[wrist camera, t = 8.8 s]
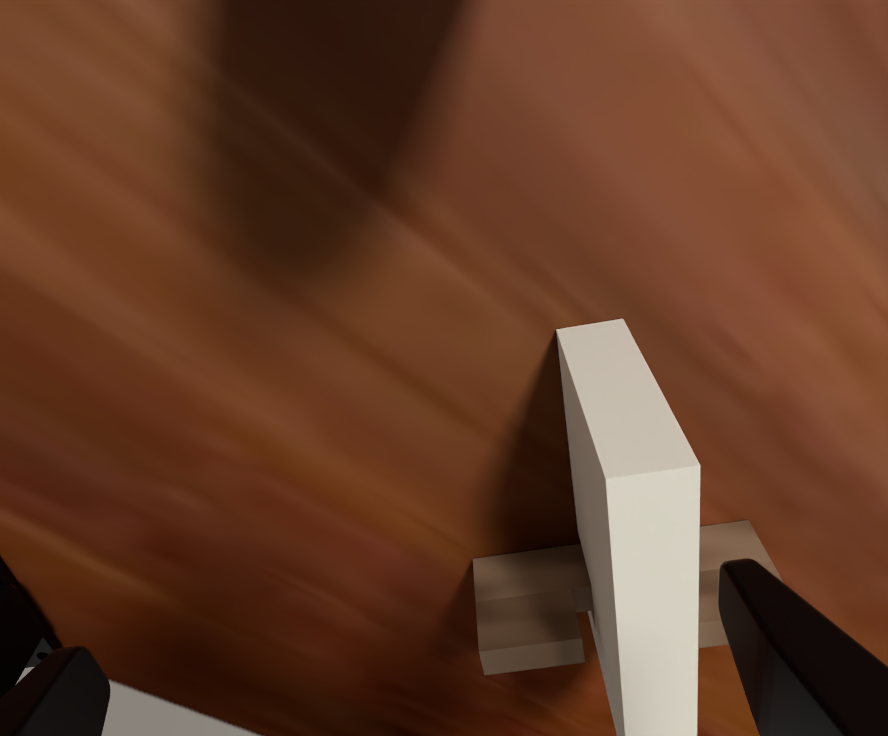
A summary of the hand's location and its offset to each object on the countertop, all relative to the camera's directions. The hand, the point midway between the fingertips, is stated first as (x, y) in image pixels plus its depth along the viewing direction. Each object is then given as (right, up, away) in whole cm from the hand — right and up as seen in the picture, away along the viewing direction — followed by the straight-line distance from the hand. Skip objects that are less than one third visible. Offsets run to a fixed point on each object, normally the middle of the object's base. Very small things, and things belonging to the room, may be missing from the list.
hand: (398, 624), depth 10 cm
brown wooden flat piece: (+7, -3, +16) cm, 18 cm away
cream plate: (+6, 0, +14) cm, 15 cm away
